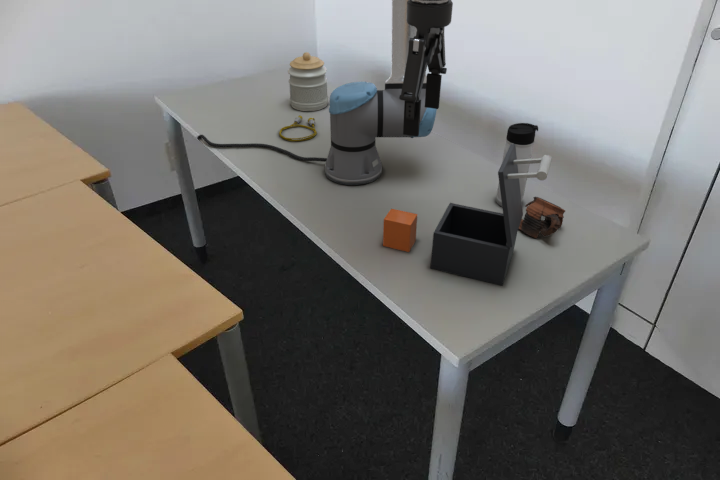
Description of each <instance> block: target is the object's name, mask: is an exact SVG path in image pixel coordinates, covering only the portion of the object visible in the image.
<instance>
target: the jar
mask: <svg viewBox="0 0 720 480" xmlns="http://www.w3.org/2000/svg"><path fill="white" fill-rule="evenodd" d="M324 65H325V61H324V60H322V59H320V57H317V56H314V55H311V54H310V52H307V51H305V52H303V53H302V55H301V56H297V57H294V59H293V60H291V61H290V62H289V66H290V67H289V68H288V69H287V74H288V75H289V79H288V85H289V86H288V87H289V103H290V106H291V108H293V109H294V110H296V111H301V112H314V111H319V110H323V109H324V108H326V107H327V106H328V104H329V103H328V102H329V96H328V78H327V75H326V74H327V72H328V69H327V67H326V66H324Z"/></svg>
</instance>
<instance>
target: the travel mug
mask: <svg viewBox="0 0 720 480" xmlns="http://www.w3.org/2000/svg"><path fill="white" fill-rule="evenodd" d="M536 132H539V126H538V125H537V124H532V123H528V122H519V123H518V122H517V123H513V124H511V125H509V126H508V128H507V131H506V137H505V142H504V149H503V155H502V161H501V163H502V162H503V160H504V158H505V155H506V153H507V151H508V149H509V146H510V144H515V146H516V155H517V160H520V159H532V154H533V151H534V145H535V137H536ZM517 165H518V173H529V170H530V165H531V164H517ZM527 180H528V178H519V183H520V192H521V201H522V202H523V201H524V195H525V191H526V186H527ZM495 202H496V204H497V205H498V206H500V207H502V200H501V192H500V185H499V184H498V185H497V191H496V197H495Z"/></svg>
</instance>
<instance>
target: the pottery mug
mask: <svg viewBox="0 0 720 480" xmlns="http://www.w3.org/2000/svg"><path fill="white" fill-rule="evenodd" d="M524 206H525V211H526V212H525V214H524V217H523V218H522V219H521V222H520V225H519V229H518V230H520V231H521V232H523V233H524V234H526V235H528V236H529V237H532V238H534V239H538V236H539V235H540V234H541V235H542V236H543V237H550V236H551V235H554V234H555V233H557V232H558V230H559V228H561V227H562V226H563V222H564V218H565V216H564V214H565V213H566V210H565V209H564V208H562V207H560V206H558V205H557V204H555V203H552V202H550V201H547V200H546V199H544V198H542V197H538V196H534V197H533V199H532V200H531V201H530V202H527V203H526V204H525V205H524ZM543 217H544V219H542V218H543Z"/></svg>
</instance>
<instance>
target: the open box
mask: <svg viewBox="0 0 720 480" xmlns="http://www.w3.org/2000/svg"><path fill="white" fill-rule="evenodd" d="M435 227H436V228H435V229H434V231H433V235H432V246H431V247H432V248H431V256H430V258H431V259H430V269H432V270H437V271H441V272H445V273H449V274H453V275H457V276H461V277H465V278H469V279H473V280H477V281H481V282H485V283H489V284H494V285H498V286H502V287H503V286H504V283H505V280H506V276H507V273H508V270H509V267H510V263H511V260H512V257H513V255H514V250H515V245H516V242H517V235H518V234H517V235H516V238H515V241H514V244H513V247H507V239H506V231H505V223H504V216H503V212H498V211H492V210H488V209H483V208H477V207H474V206H473V207H472V206H469V205H463V204H459V203H454V202H449V204H448V205H447V207H446V209H445V211H444V213H443V215H442V216H441V218H440V220H439V222H438V223H437V226H435Z"/></svg>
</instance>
